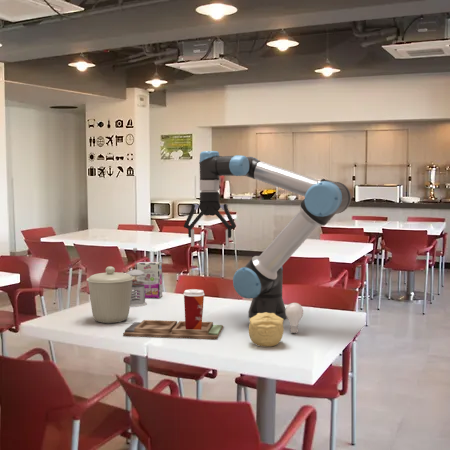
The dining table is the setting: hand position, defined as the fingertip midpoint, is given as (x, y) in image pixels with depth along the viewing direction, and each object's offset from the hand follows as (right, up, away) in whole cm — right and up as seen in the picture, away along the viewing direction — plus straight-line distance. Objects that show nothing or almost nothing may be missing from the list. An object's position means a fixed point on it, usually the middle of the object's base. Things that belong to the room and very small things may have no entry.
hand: (209, 246), depth 230 cm
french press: (-32, -27, +30) cm, 51 cm away
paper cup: (-5, -29, -19) cm, 35 cm away
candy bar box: (-29, -26, +45) cm, 60 cm away
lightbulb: (+30, -30, -20) cm, 47 cm away
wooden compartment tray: (-12, -30, -18) cm, 37 cm away
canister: (-39, -29, 0) cm, 48 cm away
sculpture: (+19, -32, -34) cm, 50 cm away
